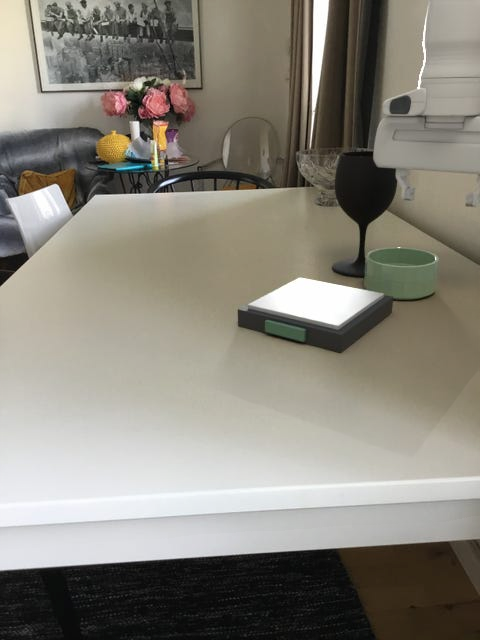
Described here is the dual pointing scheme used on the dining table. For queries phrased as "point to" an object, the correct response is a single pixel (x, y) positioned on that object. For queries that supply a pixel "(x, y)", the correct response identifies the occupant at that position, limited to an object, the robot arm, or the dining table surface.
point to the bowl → (401, 272)
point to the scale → (317, 313)
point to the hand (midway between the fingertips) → (438, 203)
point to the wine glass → (362, 199)
